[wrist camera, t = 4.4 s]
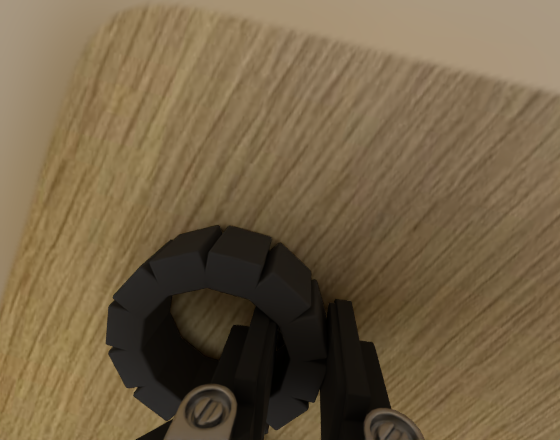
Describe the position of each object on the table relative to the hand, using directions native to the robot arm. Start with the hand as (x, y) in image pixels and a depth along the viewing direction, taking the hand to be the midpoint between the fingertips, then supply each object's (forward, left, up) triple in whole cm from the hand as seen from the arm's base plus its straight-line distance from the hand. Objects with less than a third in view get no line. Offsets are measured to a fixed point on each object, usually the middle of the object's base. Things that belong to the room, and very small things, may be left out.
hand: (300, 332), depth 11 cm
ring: (+2, -1, -1) cm, 3 cm away
